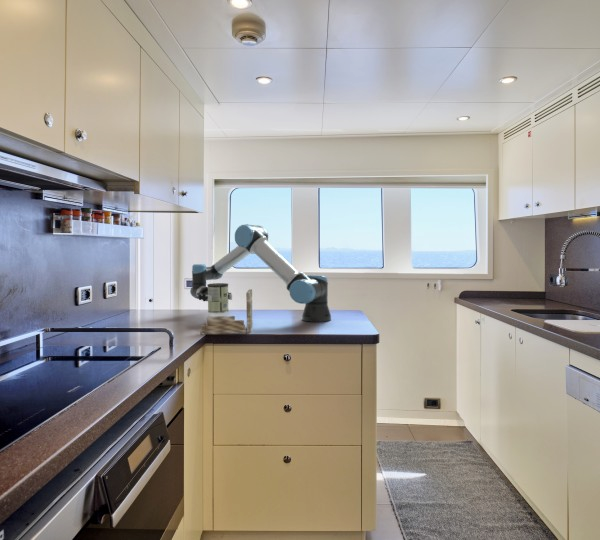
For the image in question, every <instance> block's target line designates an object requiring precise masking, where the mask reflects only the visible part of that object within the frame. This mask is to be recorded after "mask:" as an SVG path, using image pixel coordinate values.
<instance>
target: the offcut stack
mask: <svg viewBox="0 0 600 540" xmlns="http://www.w3.org/2000/svg"><path fill="white" fill-rule="evenodd" d="M235 318H236V316H234V315H225V316H224V315H223V316H222V315H221V316H220V315H219V316H218V315H217V316H216V315H215V316H214V315H213V316H206V325H205V324H204V325H203V324H202V325H200V327H201V328H200V331H216V330H245V329H246V325H245V322H244V321H245V320H243V319H241V320H239V319H238V320H237V319H235Z"/></svg>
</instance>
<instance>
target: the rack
mask: <svg viewBox="0 0 600 540" xmlns="http://www.w3.org/2000/svg"><path fill="white" fill-rule="evenodd" d="M245 295H246V296H245V297H246V328H245V330H216V331H201V330H199V334H200V333H240V334H251V333H252V329H253V326H254V325H253V323H254V322H253V288H252V289H250V288H249V289H248V290H247V291H246V294H245Z"/></svg>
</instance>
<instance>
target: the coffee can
mask: <svg viewBox="0 0 600 540" xmlns="http://www.w3.org/2000/svg"><path fill="white" fill-rule="evenodd" d="M206 287H208V295H210V296H212V301H207V307H208V309H207V313H209V314H225V313H228V312H229V299H228V292H229V283H223V282H222V283H218V282H217V283H208V284H206Z"/></svg>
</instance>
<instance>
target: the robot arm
mask: <svg viewBox="0 0 600 540" xmlns="http://www.w3.org/2000/svg"><path fill="white" fill-rule="evenodd" d="M234 241H235V244H236V245H237V246H236V247H235V248H234V249H232V250H231V251H229V252H228V253H227V254H226V255H224V256H223V257H222V258H220V259H219V260H217V262H215V263H214V264H213V265H211V266H207V265H206V264H205V263H203V264H202V263H200V264H199V263H195V264H193V265H192V267H191V277H192V278H191V279H192V281H191V282H192V285H191V286H192V287H190V291H189V293H190V295H191V296H192V297H193V298H195V299H197V300H199V301H202V302H208V301H212V296H210V295H208V286H207V281H212V280H214V281H215V280H218V279H221V278H222V277H223V275H224V274H225V273H226V272H227V271H229V270H230V269H232V268H233V267H234V266H235V265H236V264H238V263H239V262H241V261H242V260H244V259H245V258H246V257H247V256H250V255H256V256H257V257H258V258H259V259H260V260H261V261H262V262H263V263H264V264H265V265H266V266H267V267H268V268H269V269H270V270H271V271H272V272H273V273H274V274H275V275H276V276H277V277H278V278H279V279H280V280H281V281H282V282H283V283H284V284H286V287H285V288H286V290H287V291H288V292H289V296H290V298H291V300H293V301H294V302H295V303H297V304H303V305H304V308H303V312H302V316H301V319H302V321H304V322H311V323H322V322H330V321H331V320H332V314H331V311H330V309H329V305H328V298H329V296H328V290H329V289H328V285H329V283H328V277H327V276H324V275H312V274H311V275H306V274H305V272H304V271H298V270H297V269H296V268H294V266H293V265H292V264H291V263H290V262H288V260H286V258H285V257H283V256H282V255H281V254H280V253H279V252H278V251H277V250H276V249H275V248H274V247H273V246H272V245H271V244H270V243H269V242H268V241H269V233H268V230H267V229H266V228H265V227H264V226H262V225H256V224H255V225H254V224H248V223H247V224H241V225H239V226H238V227H237V229H236V230H235V232H234ZM229 300H230V301H232V300H233V294H232V292H230V291H228V301H229Z"/></svg>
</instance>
